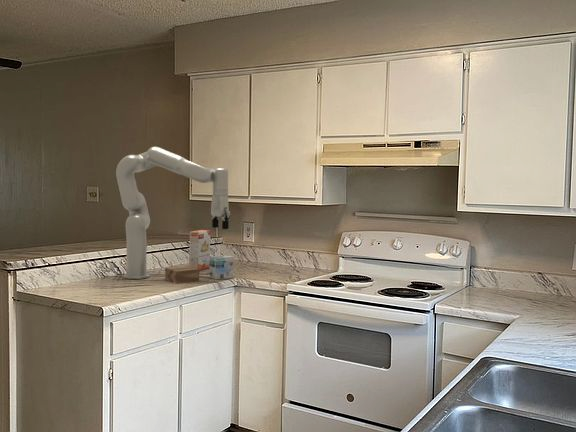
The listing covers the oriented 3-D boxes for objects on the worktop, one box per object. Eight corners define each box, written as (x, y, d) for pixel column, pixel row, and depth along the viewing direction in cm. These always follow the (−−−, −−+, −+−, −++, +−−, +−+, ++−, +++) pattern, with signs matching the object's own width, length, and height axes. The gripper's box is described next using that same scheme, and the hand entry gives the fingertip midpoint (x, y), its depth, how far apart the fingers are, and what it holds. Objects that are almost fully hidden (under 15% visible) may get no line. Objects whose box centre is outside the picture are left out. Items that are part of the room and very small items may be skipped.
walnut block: (165, 280, 290) (165, 267, 289) (187, 278, 297) (187, 266, 297) (176, 284, 280) (176, 271, 280) (199, 281, 287) (199, 269, 287)
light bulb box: (215, 279, 292) (215, 257, 292) (208, 277, 298) (208, 256, 297) (234, 277, 299) (234, 256, 298) (227, 276, 304) (227, 254, 304)
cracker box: (198, 271, 317) (199, 232, 316) (188, 270, 319) (188, 231, 318) (210, 267, 331) (210, 230, 329) (200, 267, 333) (201, 229, 331)
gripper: (205, 193, 298) (205, 227, 299) (222, 194, 284) (222, 229, 285) (218, 192, 302) (218, 226, 303) (236, 193, 288) (236, 229, 290)
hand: (220, 228), depth 294 cm, fingers open, 9 cm apart
